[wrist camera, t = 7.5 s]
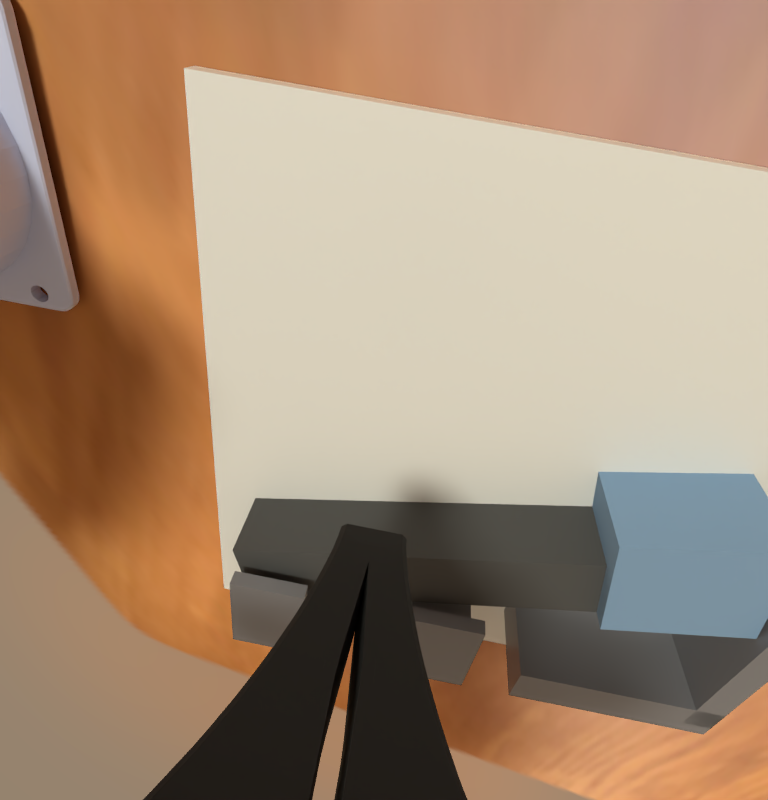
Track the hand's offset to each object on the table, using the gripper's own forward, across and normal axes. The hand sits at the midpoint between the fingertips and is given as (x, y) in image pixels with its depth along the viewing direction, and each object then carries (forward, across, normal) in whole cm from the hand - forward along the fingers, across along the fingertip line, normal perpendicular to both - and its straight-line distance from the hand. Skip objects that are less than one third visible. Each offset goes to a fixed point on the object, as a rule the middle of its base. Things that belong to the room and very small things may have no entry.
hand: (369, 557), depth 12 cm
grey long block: (+6, -4, +4) cm, 8 cm away
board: (+6, -4, +2) cm, 8 cm away
